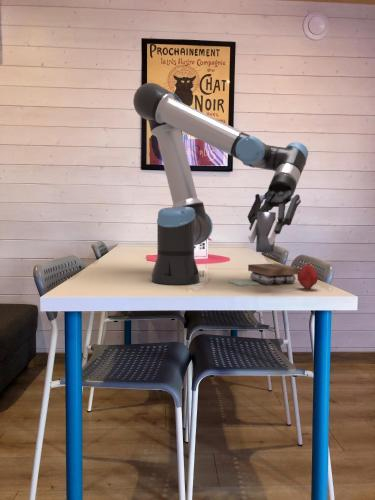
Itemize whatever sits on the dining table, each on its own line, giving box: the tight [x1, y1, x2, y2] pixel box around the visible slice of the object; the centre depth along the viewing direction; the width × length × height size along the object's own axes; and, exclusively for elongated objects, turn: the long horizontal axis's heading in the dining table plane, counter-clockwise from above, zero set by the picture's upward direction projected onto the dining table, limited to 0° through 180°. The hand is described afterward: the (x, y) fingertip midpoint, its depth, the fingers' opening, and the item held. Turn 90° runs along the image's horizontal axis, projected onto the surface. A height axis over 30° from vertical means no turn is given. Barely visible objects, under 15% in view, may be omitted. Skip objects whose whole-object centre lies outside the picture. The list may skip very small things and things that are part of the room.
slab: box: [247, 262, 300, 276], centre depth 146 cm, size 11×12×2 cm
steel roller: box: [255, 211, 277, 254], centre depth 127 cm, size 5×5×11 cm
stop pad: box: [228, 279, 261, 287], centre depth 142 cm, size 7×7×1 cm
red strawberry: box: [297, 262, 319, 291], centre depth 133 cm, size 6×6×8 cm
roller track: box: [250, 272, 296, 286], centre depth 146 cm, size 11×9×3 cm
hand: (260, 240), depth 124 cm, fingers closed on steel roller, 5 cm apart
